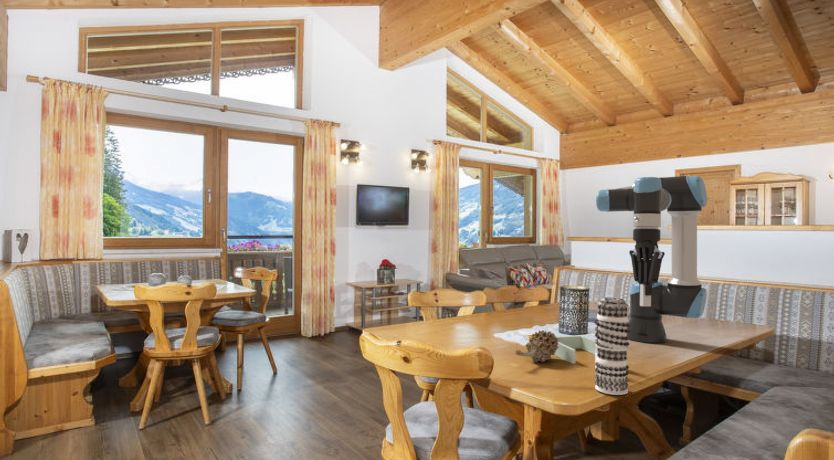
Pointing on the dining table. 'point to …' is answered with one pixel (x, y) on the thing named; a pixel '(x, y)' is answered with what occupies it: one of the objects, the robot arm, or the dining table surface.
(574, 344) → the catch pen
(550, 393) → the dining table surface
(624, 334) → the decorative candle
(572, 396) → the dining table surface
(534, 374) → the dining table surface
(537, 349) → the pine cone
